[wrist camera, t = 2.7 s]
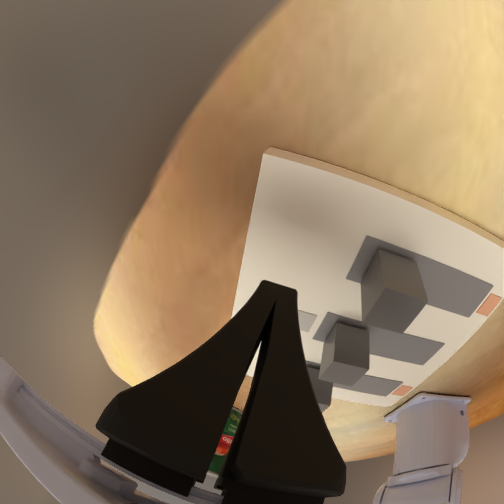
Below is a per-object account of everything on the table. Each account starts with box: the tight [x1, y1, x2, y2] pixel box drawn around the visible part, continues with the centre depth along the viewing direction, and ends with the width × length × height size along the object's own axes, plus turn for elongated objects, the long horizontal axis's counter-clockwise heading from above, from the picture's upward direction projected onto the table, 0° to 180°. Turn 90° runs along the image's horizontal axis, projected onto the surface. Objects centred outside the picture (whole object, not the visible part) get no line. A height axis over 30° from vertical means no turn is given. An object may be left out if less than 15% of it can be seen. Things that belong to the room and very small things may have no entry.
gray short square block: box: [307, 367, 333, 413], centre depth 19 cm, size 2×2×3 cm
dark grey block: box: [361, 249, 428, 334], centre depth 12 cm, size 2×2×3 cm
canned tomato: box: [206, 407, 243, 478], centre depth 32 cm, size 8×8×11 cm
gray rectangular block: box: [318, 323, 370, 387], centre depth 16 cm, size 2×2×3 cm
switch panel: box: [231, 147, 504, 408], centre depth 18 cm, size 18×20×2 cm
